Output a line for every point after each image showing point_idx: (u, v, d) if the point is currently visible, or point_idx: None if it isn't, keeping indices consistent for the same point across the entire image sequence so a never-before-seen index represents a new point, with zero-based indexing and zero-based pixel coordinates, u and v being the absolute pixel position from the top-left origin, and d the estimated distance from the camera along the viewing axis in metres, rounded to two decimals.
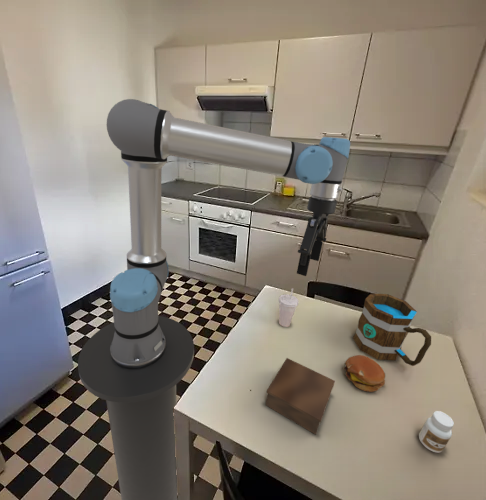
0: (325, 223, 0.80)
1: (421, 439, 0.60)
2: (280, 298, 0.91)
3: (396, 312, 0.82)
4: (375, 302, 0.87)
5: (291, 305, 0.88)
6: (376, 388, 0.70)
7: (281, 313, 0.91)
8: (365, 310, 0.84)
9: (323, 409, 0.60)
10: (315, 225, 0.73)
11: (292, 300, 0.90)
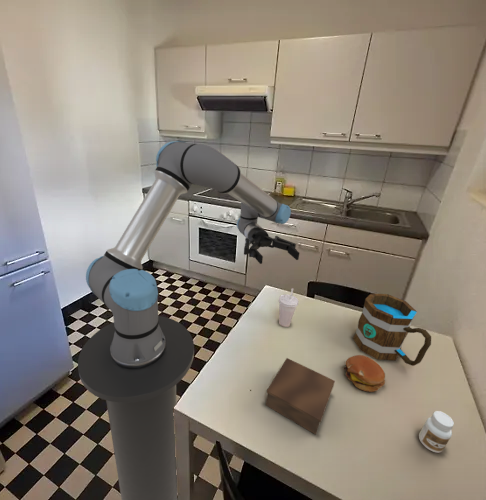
0: None
1: (421, 439, 0.60)
2: (280, 298, 0.91)
3: (396, 312, 0.82)
4: (375, 302, 0.87)
5: (291, 305, 0.88)
6: (376, 388, 0.70)
7: (281, 313, 0.91)
8: (365, 310, 0.84)
9: (323, 409, 0.60)
10: None
11: (292, 300, 0.90)
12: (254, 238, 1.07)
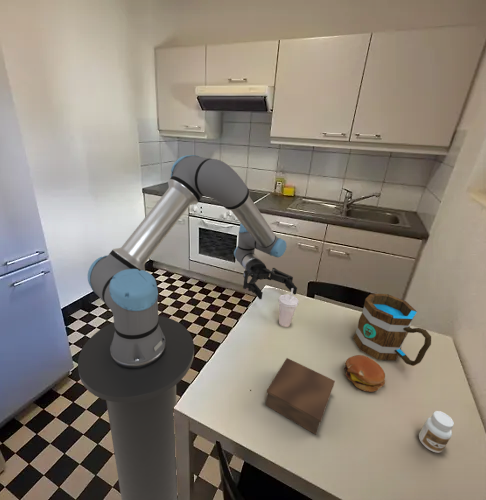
0: None
1: (421, 439, 0.60)
2: (280, 298, 0.91)
3: (396, 312, 0.82)
4: (375, 302, 0.87)
5: (291, 305, 0.88)
6: (376, 388, 0.70)
7: (281, 313, 0.91)
8: (365, 310, 0.84)
9: (323, 409, 0.60)
10: None
11: (292, 300, 0.90)
12: (252, 270, 1.10)
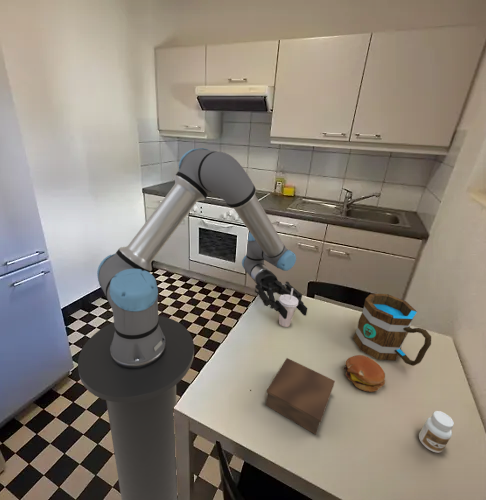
0: None
1: (421, 439, 0.60)
2: (280, 298, 0.91)
3: (396, 312, 0.82)
4: (375, 302, 0.87)
5: (291, 305, 0.88)
6: (376, 388, 0.70)
7: None
8: (365, 310, 0.84)
9: (323, 409, 0.60)
10: None
11: (292, 300, 0.90)
12: (263, 283, 1.01)
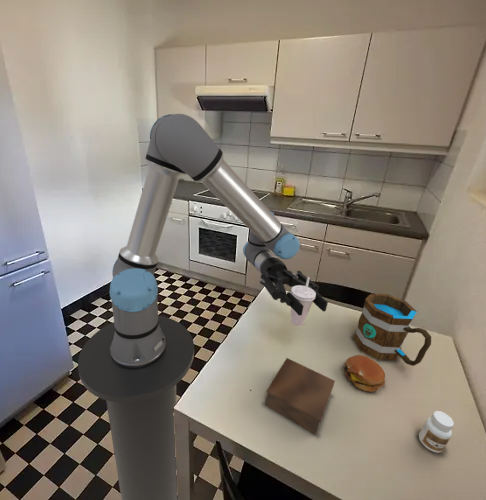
0: None
1: (421, 439, 0.60)
2: (293, 290, 0.73)
3: (396, 312, 0.82)
4: (375, 302, 0.87)
5: (307, 298, 0.70)
6: (376, 388, 0.70)
7: None
8: (365, 310, 0.84)
9: (323, 409, 0.60)
10: None
11: (308, 292, 0.72)
12: (270, 273, 0.83)
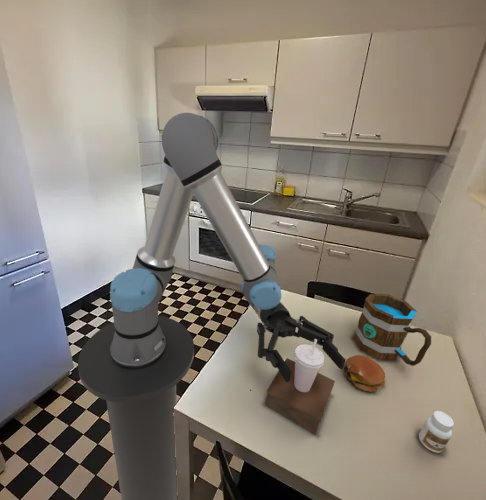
0: None
1: (421, 439, 0.60)
2: (297, 352, 0.62)
3: (396, 312, 0.82)
4: (375, 302, 0.87)
5: (314, 365, 0.59)
6: (376, 388, 0.70)
7: (298, 373, 0.62)
8: (365, 310, 0.84)
9: (323, 409, 0.60)
10: None
11: (315, 356, 0.61)
12: (270, 322, 0.72)
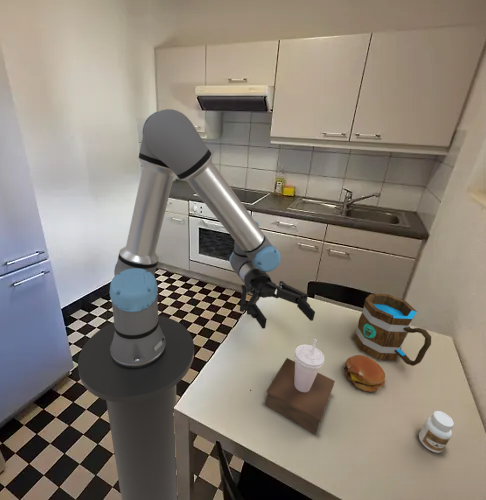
0: None
1: (421, 439, 0.60)
2: (297, 352, 0.62)
3: (396, 312, 0.82)
4: (375, 302, 0.87)
5: (314, 365, 0.59)
6: (376, 388, 0.70)
7: (298, 373, 0.62)
8: (365, 310, 0.84)
9: (323, 409, 0.60)
10: None
11: (315, 356, 0.61)
12: (253, 285, 0.81)
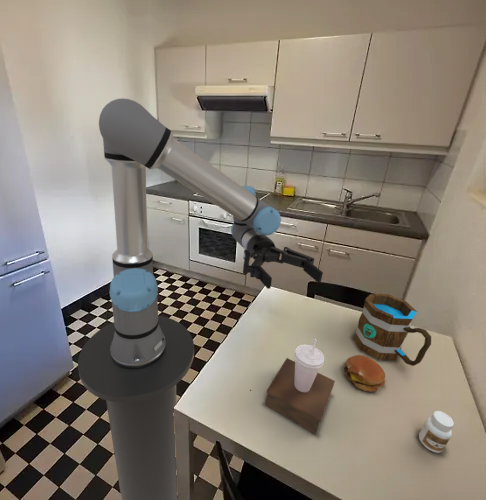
0: None
1: (421, 439, 0.60)
2: (297, 352, 0.62)
3: (396, 312, 0.82)
4: (375, 302, 0.87)
5: (314, 365, 0.59)
6: (376, 388, 0.70)
7: (298, 373, 0.62)
8: (365, 310, 0.84)
9: (323, 409, 0.60)
10: None
11: (315, 356, 0.61)
12: (256, 250, 0.77)
